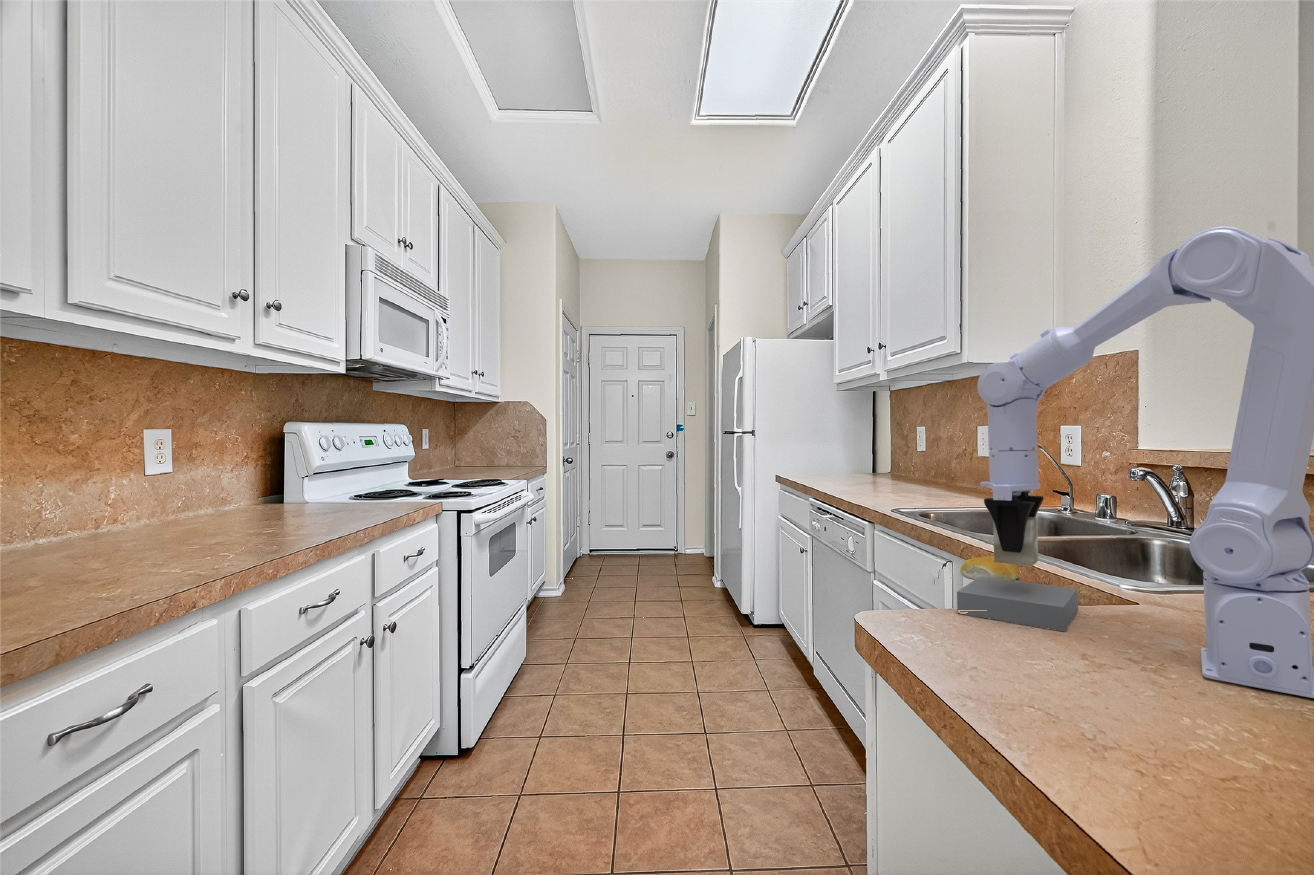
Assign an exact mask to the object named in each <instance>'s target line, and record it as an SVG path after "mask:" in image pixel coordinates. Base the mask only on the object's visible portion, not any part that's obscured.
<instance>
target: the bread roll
mask: <svg viewBox="0 0 1314 875" xmlns="http://www.w3.org/2000/svg"><path fill="white" fill-rule="evenodd" d="M959 573H960V574H961V576H962V577H963V578H965V579H969V580H972V581H974V580H975V579H977V578H979V577H988V578H996V579H1004V580H1012V581H1017V579H1018V578H1019V577H1020V570H1019V569H1018V567H1017V565H1016V564H1008V563H999V562H994V555H989V556H977V557H972V558H969V559H966V560H965V561H964V562H962V564H961V566H960V570H959Z"/></svg>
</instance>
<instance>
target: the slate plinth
mask: <svg viewBox="0 0 1314 875" xmlns="http://www.w3.org/2000/svg"><path fill="white" fill-rule="evenodd" d="M1078 596H1079V595H1078V588H1077V587H1076V588H1075V587H1067V586H1066V587H1065V586H1058V585H1051V584H1050V585H1049V584H1044V583H1043V584H1042V583H1035V582H1026V581H1020V580H1019V581H1018V580H1004V579H996V578H988V577H979V578H977V579H975V580H972V581H971V582H970V583H968V584H966V585H965V586H964V587H962V588H960V589H959V590H957V591H956V606H957V608H956V609H957V611H958V610H987V611H960V612H968V613H966V614H964V615H963V616H968V615H969V616H970V617H975V618H980V617H982V618H981V619H986V618H990V619H989V620H992V619H995V620H994V621H998V620H1002V621H1001V622H1004V621H1006V622H1005V623H1009V622H1013V623H1012V624H1015V623H1018V624H1017V625H1021V624H1022V625H1021V626H1027V625H1028V627H1033V626H1036V627H1035V628H1039V627H1041V628H1040V629H1045V628H1049V629H1048V630H1050V629H1056V630H1059V631H1058V632H1062V631H1065V630H1066V631H1067V629H1068V627H1069V626H1070V624H1071V623H1070V622H1072V621H1073V619H1074V618H1075V616H1076V615H1077V613H1078V611H1079V601H1078V600H1079V599H1078V598H1079V597H1078ZM1077 610H1078V611H1077ZM1075 614H1076V615H1075ZM1074 615H1075V616H1074ZM1073 617H1074V618H1073ZM1072 618H1073V619H1072ZM1071 620H1072V621H1071ZM1069 623H1070V624H1069ZM1068 625H1069V626H1068ZM1067 626H1068V627H1067ZM1066 628H1067V629H1066ZM1056 630H1055V631H1056ZM1066 631H1065V632H1066Z"/></svg>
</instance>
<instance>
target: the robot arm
mask: <svg viewBox="0 0 1314 875" xmlns="http://www.w3.org/2000/svg"><path fill="white" fill-rule="evenodd" d="M1309 257H1310V256H1309V255H1308V253H1306V252H1304V251H1302V250H1299V249H1297V248H1295V247H1293V246H1291V245H1290V244H1287V243H1284V242H1283V241H1280V240H1278V239H1277V240H1276V239H1273V238H1265V237H1261V236H1258V235H1255V234H1252V233H1250V232H1248V231H1246V230H1244V229H1240V228H1238V227H1233V226H1226V225H1225V226H1216V227H1211V228H1209V229H1205V230H1203V231H1200V232H1198V233H1196V234H1194V235H1192V236H1191V237H1190V238H1188V239H1187V240H1186V241H1185V242H1184V243H1183V244H1182V245H1181V246H1180V247H1179V248H1178V247H1177V248H1174V249H1173V250H1170V251H1169V252H1167V253H1165V254H1163V255H1162V256H1161V257H1160V258H1159V259H1158V260H1157V261H1156V262H1155V263H1154V265H1153V266H1152V267H1151V268H1150V269H1149V270H1148V271H1147V272H1145V273H1144V274H1143V275H1142V276H1141V277H1139V278H1138V279H1136V280H1135V281H1134V282H1132V283H1131V284H1130V285H1129V286H1127V287H1125V289H1124V290H1122V291H1120V292H1119V293H1118V294H1117V295H1115V296H1114V297H1112V298H1111V299H1110V300H1109V301H1107V302H1106V303H1105V304H1103V305H1102V306H1101V307H1099V308H1098V309H1097V310H1096V311H1094V312H1092V314H1090V315H1089V316H1087V317H1086V318H1084V320H1082V321H1080V322H1079V323H1078V324H1077V325H1075V326H1074V327H1070V326H1057V327H1056V328H1055V329H1053V328H1052V329H1051V328H1047V329H1046V330H1044V331H1043V332H1041V333H1040V334H1039V337H1041V338H1040V339H1038V340H1037V341H1036V342H1034V344H1032V345H1030V346H1029V347H1027V348H1026V349H1024V350H1023V351H1021V352H1020V353H1017V352H1016V353H1013V355H1011V356H1010V357H1009V359H1010V360H1008V362H995V363H991V364H989V365H988V366H987V367H986V368H985V369H984V370H983V372H981V374H980V375H979V377H978V379H977V393H978V395H979V397H980V398H981V400H982V401H983V402H984V403H986V404H987V405H986V407H987V436H988V438H987V439H988V442H987V443H988V463H989V464H988V467H989V468H988V469H989V481H980V483H979V484H980V488H989V489H991V490H992V497H986V498H984V499H983V504H984V506H985V507H986V509H987V511H988V512H989V514H990V516H991V518H992V522H993V521H994V523H995V526H996V530H997V533H998V537H999V541H1000V545H1001V548H1002V550H1003V551H1007V552H1017V553H1020V552H1021V550H1022V547H1023V543H1024V535H1025V527H1026V522H1027V519H1028V517H1035V518H1037V513H1038V511H1039V509H1040V507H1041V505H1042V504H1043V502H1044V500H1045V497H1044V496H1042V495H1031V494H1034V493H1033V492H1034V490H1040V489H1041V483H1040V482H1039V463H1038V462H1039V461H1038V460H1039V459H1038V457H1039V456H1038V432H1037V430H1038V429H1037V413H1038V406H1039V405H1038V404H1039V402H1040V401H1041V399H1042V397H1043V396H1044V394H1045V392H1046V389H1048V388H1050V387H1052V386H1053V385H1055V384H1057V383H1058V382H1059V381H1061V380H1063V379H1065V378H1066V377H1068V376H1069V375H1072V374H1073V373H1074V372H1076V371H1078V370H1079V369H1081V368H1082V367H1084V366H1086V365H1088V364H1089V363H1090V362H1092V360H1093V358H1094V353H1095V349H1096V347H1098V346H1100V345H1102V344H1103V343H1105V342H1107V341H1108V340H1110V339H1112V338H1115V336H1117V335H1119V334H1121V333H1123V332H1125V331H1126V330H1127V329H1130V328H1131V327H1133V326H1135V325H1137V324H1138V323H1140V322H1142V321H1143V320H1145V319H1147V318H1149V317H1151V316H1153V315H1154V314H1156V313H1158V312H1160V311H1161V310H1163V309H1165V308H1168V307H1175V306H1182V305H1183V306H1184V305H1192V304H1193V305H1194V304H1204V303H1211V302H1212V299H1213V300H1216V301H1218V302H1222V303H1224V304H1225V305H1226V306H1227V307H1228V308H1230V309H1232V310H1233V311H1235V312H1236V313H1237V314H1239V315H1240V316H1241V317H1243V318H1244V319H1245V320H1247V321H1249V322H1250V323H1251V324H1252V326H1253V327H1254V328H1253V333H1252V338H1251V343H1250V349H1249V354H1248V359H1247V365H1246V371H1245V376H1244V382H1243V384H1242V385H1243V386H1242V391H1241V397H1240V402H1239V407H1238V411H1237V418H1236V423H1235V427H1234V428H1235V429H1234V434H1233V440H1232V445H1231V450H1230V454H1229V460H1228V466H1227V471H1226V477H1225V481H1224V484H1223V485H1222V486H1221V488H1220V489H1219V491H1217V493H1216V494H1215V495H1214V497H1213V498H1212V499H1211V501H1210V502H1209V505H1208V510H1207V514H1206V517H1205V519H1204V520H1203V521H1202V523H1201V524H1199V525H1198V527H1196V528H1195V529H1194V531H1193V532H1192V534H1191V536H1190V539H1189V551H1190V555H1191V557H1192V559H1193V561H1194V562H1195V564H1196V565H1197V566H1198V567H1199V568H1200V569H1201V570H1202V571H1203V572H1202V577H1203V578H1202V580H1203V601H1204V602H1203V603H1204V622H1205V623H1204V624H1205V625H1204V626H1205V627H1204V628H1205V647H1201V648H1200V659H1201V661H1200V662H1201V670H1202V677H1204V678H1206V679H1209V680H1216V681H1221V682H1227V683H1231V684H1237V685H1242V686H1247V687H1252V688H1257V689H1263V690H1269V691H1273V692H1278V693H1284V694H1290V695H1295V696H1299V697H1304V698H1305V697H1306V698H1311V699H1314V665H1313V664H1314V661H1313V642H1312V621H1311V620H1312V619H1311V618H1312V616H1311V601H1310V600H1311V598H1310V597H1311V596H1310V595H1311V594H1310V581H1308V579H1307V576H1305V575H1304V573H1303V572H1302V570H1304V569H1307V567H1309V566H1310V565H1311V564H1312V563H1313V562H1314V535H1313V532H1312V531H1311V528H1310V524H1309V521H1310V520H1309V519H1310V515H1311V507H1310V505H1309V503H1308V500H1307V499H1306V496H1305V494H1304V491H1303V489H1304V488H1303V487H1304V483H1305V479H1306V474H1307V469H1308V465H1309V458H1310V454H1311V450H1312V445H1313V440H1314V266H1313V265H1312V264H1311V260H1310V258H1309Z"/></svg>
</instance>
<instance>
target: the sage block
mask: <svg viewBox="0 0 1314 875" xmlns="http://www.w3.org/2000/svg"><path fill="white" fill-rule="evenodd" d="M992 522H993V523H992V526H993V530H992V531H993V556H994V562H999V563H1008V564H1014V565H1016V566H1017V565H1019V566H1025V567H1026V566H1027V567H1033V566H1035V565H1036V563H1038V562H1039V544H1038V543H1039V540H1038V539H1039V536H1038V517H1028V519H1027V522H1026V527H1025V535H1024V543H1023V547H1022V550H1021V552H1020V553H1017V552H1007V551H1003V550H1002V548H1001V545H1000V541H999V537H998V533H997V530H996V526H995V523H994V521H993V520H992Z"/></svg>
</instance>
